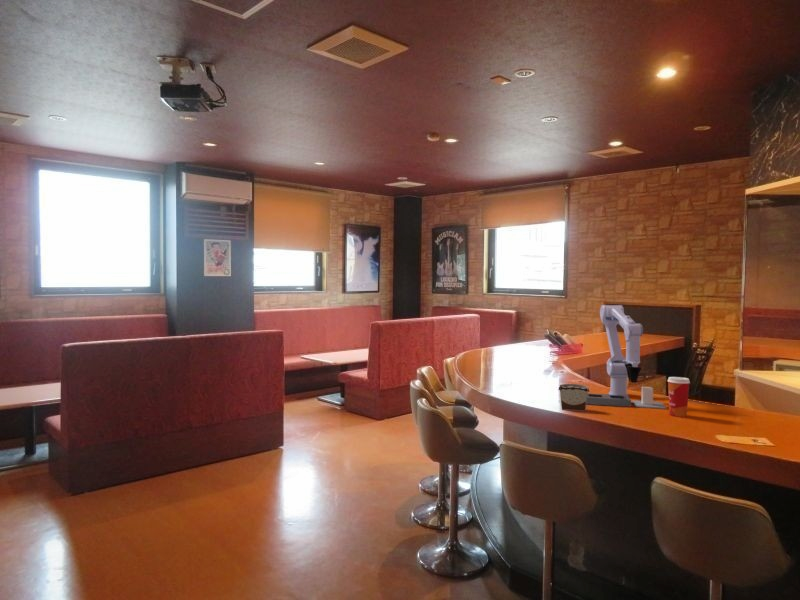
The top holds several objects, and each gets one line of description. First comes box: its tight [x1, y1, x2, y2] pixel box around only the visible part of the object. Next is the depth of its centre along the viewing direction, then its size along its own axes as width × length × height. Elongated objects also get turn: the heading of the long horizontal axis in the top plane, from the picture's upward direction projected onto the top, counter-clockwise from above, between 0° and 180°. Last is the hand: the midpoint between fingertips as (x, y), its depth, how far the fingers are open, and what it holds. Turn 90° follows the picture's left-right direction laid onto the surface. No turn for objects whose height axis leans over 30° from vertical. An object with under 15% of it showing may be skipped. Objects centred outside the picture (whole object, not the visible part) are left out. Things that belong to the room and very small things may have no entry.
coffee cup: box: [666, 376, 691, 418], centre depth 216 cm, size 8×8×15 cm
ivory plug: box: [640, 386, 654, 405], centre depth 235 cm, size 4×4×7 cm
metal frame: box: [586, 392, 632, 408], centre depth 239 cm, size 10×20×3 cm, turn 75°
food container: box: [558, 383, 590, 412], centre depth 227 cm, size 12×6×10 cm, turn 74°
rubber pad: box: [631, 399, 668, 410], centre depth 235 cm, size 12×12×1 cm
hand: (632, 381), depth 241 cm, fingers open, 7 cm apart
